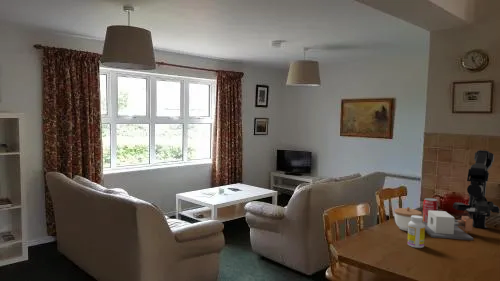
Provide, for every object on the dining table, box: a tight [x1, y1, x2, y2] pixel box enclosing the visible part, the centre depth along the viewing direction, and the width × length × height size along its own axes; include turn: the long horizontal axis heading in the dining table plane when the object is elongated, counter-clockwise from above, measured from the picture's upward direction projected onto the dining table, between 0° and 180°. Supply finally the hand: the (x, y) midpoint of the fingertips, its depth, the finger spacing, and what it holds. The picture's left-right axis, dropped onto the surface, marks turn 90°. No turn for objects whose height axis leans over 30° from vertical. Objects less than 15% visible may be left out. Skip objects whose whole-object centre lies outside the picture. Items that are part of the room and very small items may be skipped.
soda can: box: [422, 197, 439, 224], centre depth 193 cm, size 7×7×13 cm
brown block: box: [454, 215, 473, 232], centre depth 178 cm, size 5×14×6 cm, turn 81°
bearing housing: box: [424, 210, 474, 241], centre depth 178 cm, size 20×18×9 cm
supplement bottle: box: [407, 215, 426, 249], centre depth 158 cm, size 7×7×13 cm
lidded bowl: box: [394, 206, 423, 232], centre depth 182 cm, size 13×13×11 cm
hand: (474, 224), depth 176 cm, fingers closed
